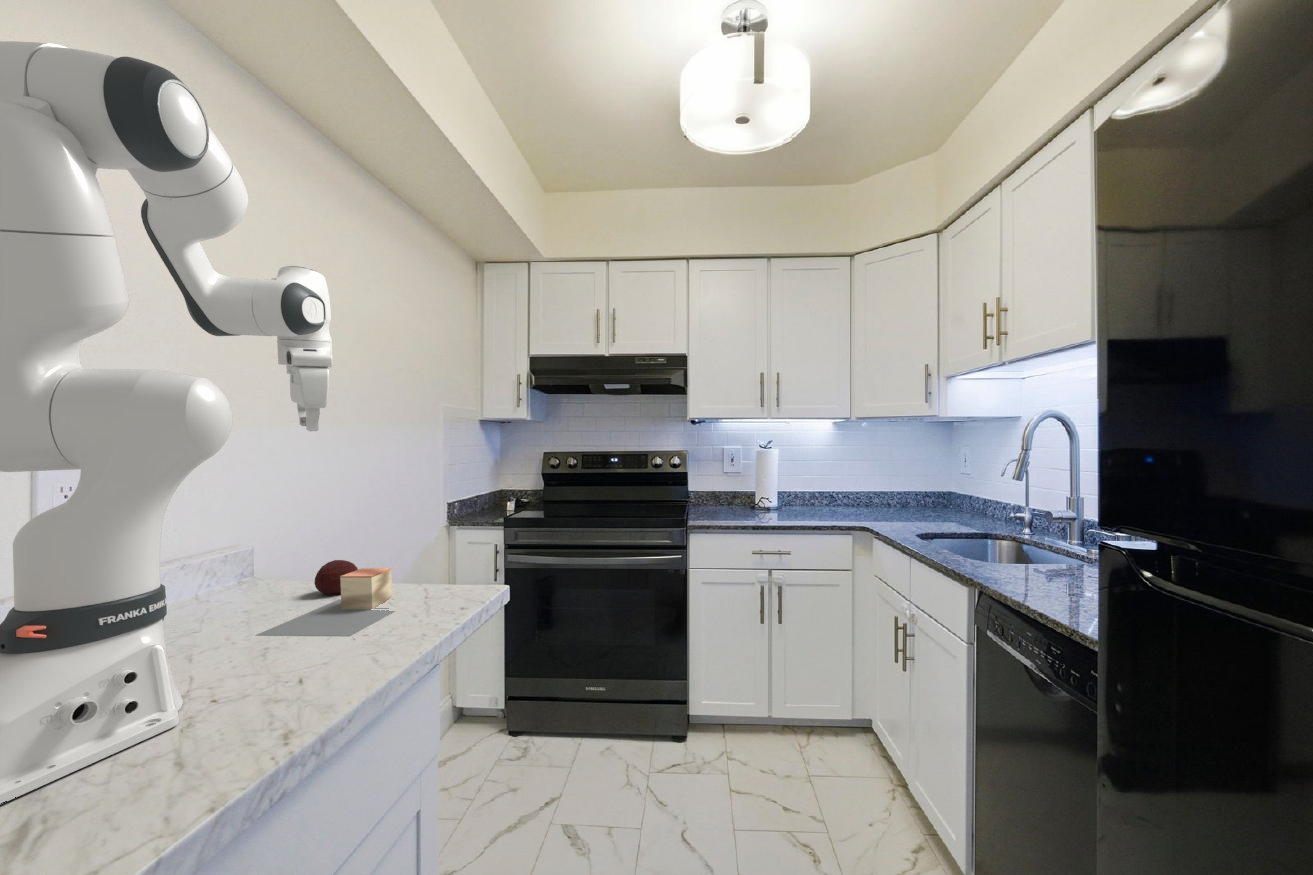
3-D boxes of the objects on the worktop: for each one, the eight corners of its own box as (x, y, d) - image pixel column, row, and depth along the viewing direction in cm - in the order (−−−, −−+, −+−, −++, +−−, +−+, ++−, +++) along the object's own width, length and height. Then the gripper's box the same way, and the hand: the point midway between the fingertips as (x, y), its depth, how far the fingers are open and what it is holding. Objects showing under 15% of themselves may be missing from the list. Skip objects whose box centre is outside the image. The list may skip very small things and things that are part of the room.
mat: (349, 639, 84) (349, 636, 84) (255, 638, 86) (255, 635, 86) (417, 602, 103) (417, 599, 103) (338, 602, 105) (338, 599, 105)
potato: (361, 595, 109) (359, 560, 109) (315, 602, 105) (314, 566, 105) (357, 587, 115) (356, 554, 115) (314, 594, 111) (313, 560, 111)
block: (372, 609, 97) (371, 576, 97) (341, 609, 98) (340, 576, 98) (392, 599, 103) (391, 568, 103) (362, 599, 104) (361, 568, 104)
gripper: (280, 355, 110) (283, 423, 111) (292, 355, 94) (296, 434, 96) (316, 356, 114) (319, 422, 115) (334, 357, 98) (337, 433, 100)
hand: (308, 428), depth 106 cm, fingers open, 8 cm apart
